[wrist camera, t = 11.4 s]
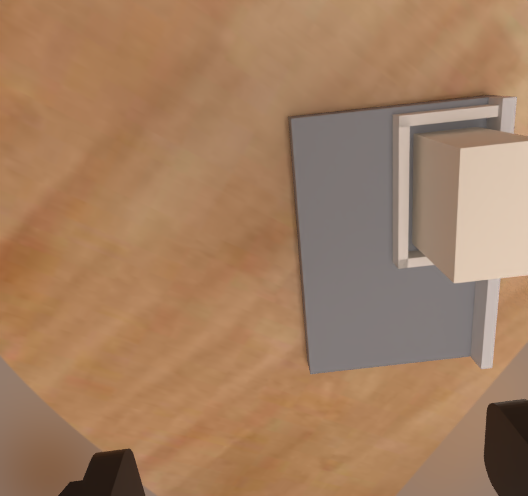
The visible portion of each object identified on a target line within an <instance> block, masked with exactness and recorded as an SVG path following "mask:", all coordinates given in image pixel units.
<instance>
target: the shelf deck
mask: <svg viewBox="0 0 528 496" xmlns="http://www.w3.org/2000/svg"><path fill="white" fill-rule="evenodd" d="M516 102H517V97H511V96H494V95H485V96H476V97H467V98H458V99H448V100H439V101H430V102H420V103H411V104H402V105H393V106H383V107H374V108H365V109H355V110H346V111H337V112H328V113H318V114H309V115H300V116H290V117H288V119H289V131H290V144H291V157H292V170H293V182H294V195H295V208H296V221H297V233H298V246H299V259H300V272H301V285H302V297H303V310H304V323H305V336H306V348H307V361H308V366H309V370H310V374H316V373H325V372H334V371H343V370H352V369H361V368H370V367H379V366H388V365H397V364H406V363H415V362H424V361H433V360H442V359H451V358H460V357H469V356H471V358H472V359H473V360H474V361H475V362H476V364H477V365H478V366H479V367H480V368H481V369H487V368H492V365H493V354H494V343H495V332H496V321H497V310H498V299H499V288H500V278H498V279H489V280H480V281H471V282H463V283H453V282H452V281H451V280H450V279H449V278H448V277H447V276H446V275H445V274H444V273H442V272H441V271H440V270H439V269H438V268H437V267H436V266H435V265H434V264H433V263H432V262H431V261H430V260H429V259H428V258H427V257H426V256H425V255H424V254H423V253H422V252H421V251H419V250H418V249H417V248H416V247H415V246H414V245H413V244H412V212H413V134H418V133H427V132H436V131H445V130H454V129H463V128H472V127H482V128H487V129H492V130H497V131H502V132H507V133H512V134H514V124H515V113H516Z"/></svg>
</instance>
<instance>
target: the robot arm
mask: <svg viewBox="0 0 528 496" xmlns="http://www.w3.org/2000/svg"><path fill="white" fill-rule="evenodd" d="M484 462H485V466H486V471H487V473H488V477H489V479H490V482H491V483H492V486H493V487H494V489H495V490H496V492H497V494H498V495H499V496H528V400H526V399H521V400H513V401H505V402H498V403H491V404H489V405H488V408H487V416H486V432H485V447H484ZM59 496H145V493H144V489H143V486H142V482H141V479H140V475H139V472H138V468H137V465H136V461H135V458H134V455H133V452H132V451H131V449H122V450H114V451H107V452H99V453H95V454H94V455H93V457H92V459H91V461H90V463H89V466H88V468H87V471H86V473H85V476H84V478H83V480H81V481H74V482H70V483H69V484H68V485H67V486H66V487H65V489H64V490H63V491H62V492H61V493H60V494H59Z"/></svg>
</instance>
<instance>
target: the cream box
mask: <svg viewBox="0 0 528 496" xmlns="http://www.w3.org/2000/svg"><path fill="white" fill-rule="evenodd" d="M412 244H413V245H414V246H415V247H416V248H417V249H418V250H419V251H421V252H422V253H423V254H424V255H425V256H426V257H427V258H428V259H429V260H430V261H431V262H432V263H433V264H434V265H435V266H436V267H437V268H438V269H439V270H440V271H441V272H442V273H444V274H445V275H446V276H447V277H448V278H449V279H450V280H451V281H452V282H453V283H463V282H471V281H480V280H489V279H498V278H507V277H516V276H525V275H528V136H523V135H518V134H512V133H507V132H502V131H497V130H492V129H487V128H482V127H472V128H463V129H454V130H445V131H436V132H427V133H418V134H413V212H412Z"/></svg>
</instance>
